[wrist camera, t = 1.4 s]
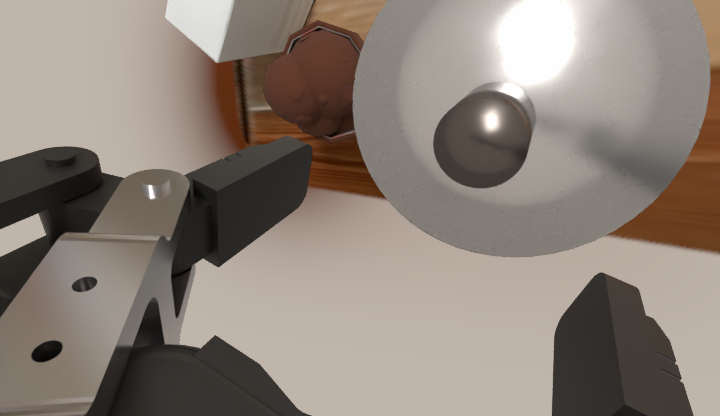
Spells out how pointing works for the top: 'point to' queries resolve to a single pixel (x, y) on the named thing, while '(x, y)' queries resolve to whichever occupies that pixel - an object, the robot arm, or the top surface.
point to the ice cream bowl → (316, 81)
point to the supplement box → (238, 25)
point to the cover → (528, 115)
